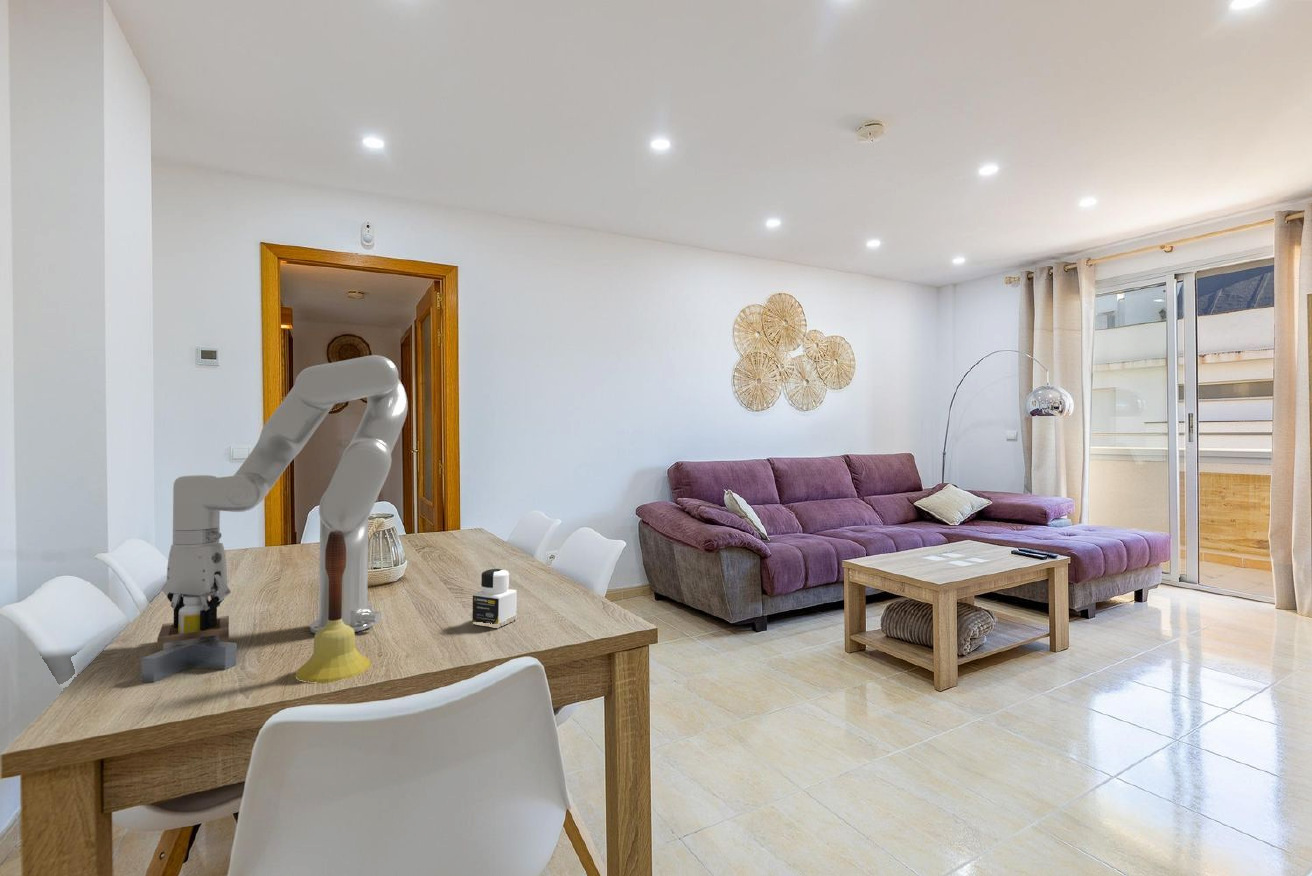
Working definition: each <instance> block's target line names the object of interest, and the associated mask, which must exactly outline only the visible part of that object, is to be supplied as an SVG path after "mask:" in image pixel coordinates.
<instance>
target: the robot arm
mask: <svg viewBox="0 0 1312 876" xmlns="http://www.w3.org/2000/svg"><path fill="white" fill-rule="evenodd" d="M361 399H366V400H367V402H366V403H367V404H366V409H365V411H364V413H363V415H362V417H361V420H360V423H359V425H358V427H357V429H356V430H355V433H354V436H352V439H351V441H350V443H349V444H348V445H347V446H346V447H345V449H344V451H343V453H342V454H343V455H342V456H341V458H340V461H339V463H338V465H337V467H336V469H335V471H334V473H333V476H332V478H331V480H330V482H329V484H328V486H327V489H326V490H325V491H324V493H323V495H322V496H321V499H320V501H319V507H318V513H319V564H318V565H319V566H318V568H319V569H318V619H316V620H314V621H313V622H311V624H310V626H309V629H310V632H311V633H312V634H314V635H315V634H316V633H317V632H318V631H319V630H320V629H321V628H323V627H325V626H326V624H327V622H328V606H329V578H328V574H327V571H326V568H325V551H326V545H327V541H328V536H329V533H330V532H332V531H342V532H343V535H344V540H345V545H346V568H345V570H344V573H343V577H342V621H343V623H344V624H345V625H348V626H350V627H351V628H353V630H354V632H355V633H357V632H360V631H364V630H367V629H369V628H371V627H372V626H374V624H377V623H379V622H380V620H381V617H382V615H383V613H382V611H381V610H380V611H379V610H372V606H373V605H372V603H368V579H369V577H368V573H369V571H368V568H369V567H368V566H369V565H368V564H369V560H368V559H369V557H368V556H369V516H370V515H371V513H372V510H373V508H374V506H375V504H376V502H377V499H378V498H379V495H380V493H381V492H382V491H381V490H382V489H383V487H384V485H385V483H386V480H387V478H388V476H389V472H390V471H391V467H392V461H393V460H392V453H393V451H394V448H395V445H396V443H397V441H398V439H399V436H400V433H401V431H402V429H403V427H404V425H405V424H404V423H405V421H406V418H407V415H408V409H409V408H408V407H409V406H408V405H409V404H408V397H407V392H406V390H405V387H404V384H402V382H401V380H400V379H399V370H398V368H397V366H396V364H395V363H394V362H393V361H392V360H391V359H389V358H387V357H386V356H382V355H377V354H373V355H364V356H361V357H355V358H350V359H345V360H339V361H335V362H328V363H324V364H323V363H322V364H317V365H312V366H309V367H306V368H304V369H303V370H302V371H300V373H299V374H298V375H297V376H296V378H295V381H294V385H293V387H292V388H291V389H290V391H289V392H288V393H287V395H286V396H285V397H284V399H283V400H282V401H281V403H280V404H279V406H277V408H275V411H273V413H272V414H271V415H270V417H269V419H267V421H265V424H264V425H263V426H262V430H261V431H260V435H259V438H258V440H257V443H256V444H255V446H254V447H253V448H252V450H251V452H250V453H249V454H248V456H247V458H246V459H245V460H244V462H243V463H242V464H241V465H240V467H239V468H238V470H237V471H236V472H235V473H234V475H229V476H221V477H217V476H215V475H214V476H213V475H207V474H206V475H203V474H201V475H199V474H197V475H196V474H195V475H184V476H183V475H182V476H178V477H177V478H175V479H174V482H173V489H172V492H173V495H172V496H173V497H172V500H173V501H172V508H173V509H172V544H171V546H170V550H169V554H168V561H167V567H166V568H167V569H166V581H165V583H164V584H163V585H162V586H161V592H163V593H164V595H165V596H166V597H167V600H168V601H169V602H170V608H172V609H173V623H174V625H173V627H174V628H178V623H179V610H180V609H181V608H182V607H184V606H185V604H183V603H184V602H183V598H184V596H186V595H196V596H200V599H201V603H202V606H203V609H204V610H201V611H200V630H202V631H204V630H207V629H210V628H213V627H216V625H217V617H218V608H219V607H220V606H221V603H222V602H223V601H224V600H225V598H226V597H229V595H230V594H231V590H230V588H229V587H228V570H227V569H228V568H227V558H226V557H227V556H226V552H225V548H224V544H223V543H222V542H220V539H221V538H222V533H221V530H220V526H221V525H220V523H221V522H220V519H221V518H220V517H221V512H233V513H234V512H235V513H242V512H243V513H245V512H247V511H251V510H252V509H254V508H255V507H257V506H258V505H259V504H260V503H261V502H263V501H264V499H265V498H266V497H267V495H268V494H269V493H270V492H271V490H272V488H273V487H274V486H275V484H276V482H278V481H279V479H280V478H281V476H282V475H283V473H284V472H285V471H286V469H287V468H288V466H289V465H290V464H291V463H292V461H293V460H294V459H295V458H296V456H298V454H300V452H301V451H302V450H303V449H304V447H305V446H306V444H307V443H308V442H309V440H310V439H311V437H312V436H313V434H314V433H315V432H316V431H317V429H318V428H319V426H320V425H321V423H322V422H323V421H324V420H325V418H326V417H327V416H328V415H329V412H331V410H332V409H333V408H334V406H335V405H336V404H341V403H346V402H351V401H355V400H361ZM209 597H210V599H209Z"/></svg>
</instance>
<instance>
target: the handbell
mask: <svg viewBox="0 0 1312 876" xmlns="http://www.w3.org/2000/svg"><path fill="white" fill-rule="evenodd" d="M325 568H326V571H327V574H328V578H329V606H328V622H327V624H326V626H325V627H323V628H321V629H320V630H319V631H318V632H317V633H316V634H315V633H314V639H313V653H312V655H310V657H309V659H308V660H307V661H306V662H304V664H302V665H301V666H300V667H299V668H298V669H297V670H296V672H295V674H296V675H295V674H294V678H295V677H297V678H298V679H299V680H303V681H306V682H308V681H309V682H317V683H321V684H329V683H328V682H332V683H334V682H333V681H338V680H342V679H346V678H349V677H354V676H356V675H358V674H360V673H362V672H363V671H364V670H367V669H368V668H369V666H370V662H371V660H370V659H369V658H367V657H366V656H364V655H362V654H361V653H360V652H359V651H358V650H357V648H356V636H355V635H356V634H355V633H356V632H354V630H353V628H351V627H350V626H348V625H345V624H344V623H343V621H342V577H343V573H344V570H345V568H346V545H345V540H344V535H343V532H342V531H332V532H330V533H329V536H328V541H327V545H326V551H325ZM356 677H357V676H356ZM354 678H355V677H354ZM323 682H324V683H323ZM326 682H327V683H326ZM338 682H339V681H338Z"/></svg>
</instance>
